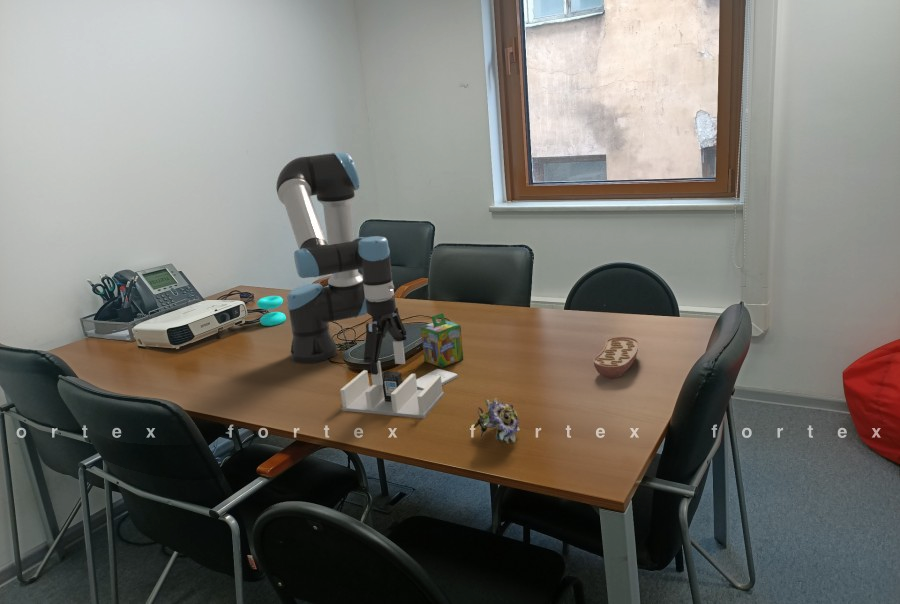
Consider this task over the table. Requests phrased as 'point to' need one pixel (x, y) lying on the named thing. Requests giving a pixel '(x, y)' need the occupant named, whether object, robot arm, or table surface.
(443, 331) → the chalk box
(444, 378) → the external hard drive
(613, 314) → the table surface
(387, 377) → the ink cartridge
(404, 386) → the divider rack
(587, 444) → the table surface
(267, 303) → the donuts
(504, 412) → the passion flower
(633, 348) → the anatomical model
